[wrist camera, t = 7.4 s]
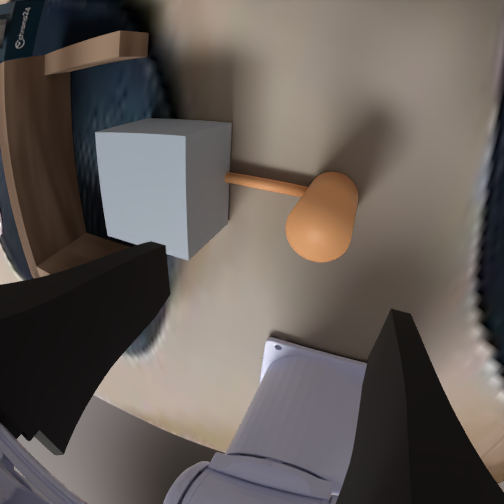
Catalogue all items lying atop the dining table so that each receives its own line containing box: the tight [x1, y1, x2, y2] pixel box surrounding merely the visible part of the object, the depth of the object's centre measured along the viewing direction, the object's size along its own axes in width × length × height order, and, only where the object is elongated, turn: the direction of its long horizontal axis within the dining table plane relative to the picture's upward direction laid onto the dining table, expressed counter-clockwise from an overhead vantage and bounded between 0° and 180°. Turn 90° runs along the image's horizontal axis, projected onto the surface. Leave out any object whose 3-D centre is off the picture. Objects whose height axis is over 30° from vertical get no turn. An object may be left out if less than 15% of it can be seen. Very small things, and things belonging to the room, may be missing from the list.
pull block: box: [95, 118, 358, 262], centre depth 15 cm, size 13×6×4 cm, turn 86°
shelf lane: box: [0, 31, 149, 278], centre depth 18 cm, size 10×17×6 cm, turn 176°
